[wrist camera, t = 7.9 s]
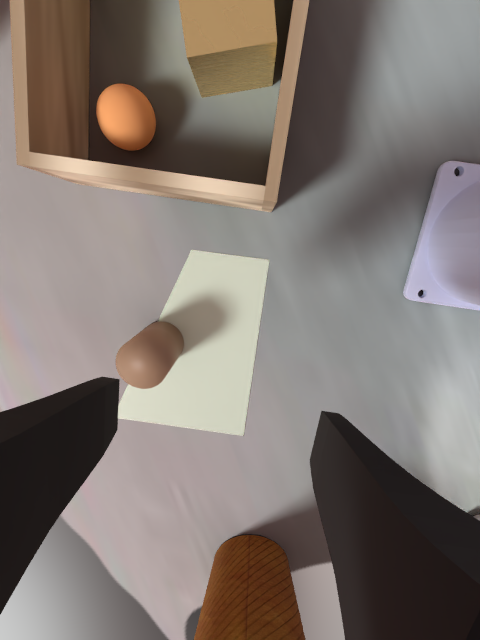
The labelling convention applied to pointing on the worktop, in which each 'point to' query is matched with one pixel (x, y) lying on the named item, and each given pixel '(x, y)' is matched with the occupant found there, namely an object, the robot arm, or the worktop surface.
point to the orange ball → (126, 117)
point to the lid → (198, 348)
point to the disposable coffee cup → (250, 594)
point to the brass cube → (230, 44)
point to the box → (73, 109)
